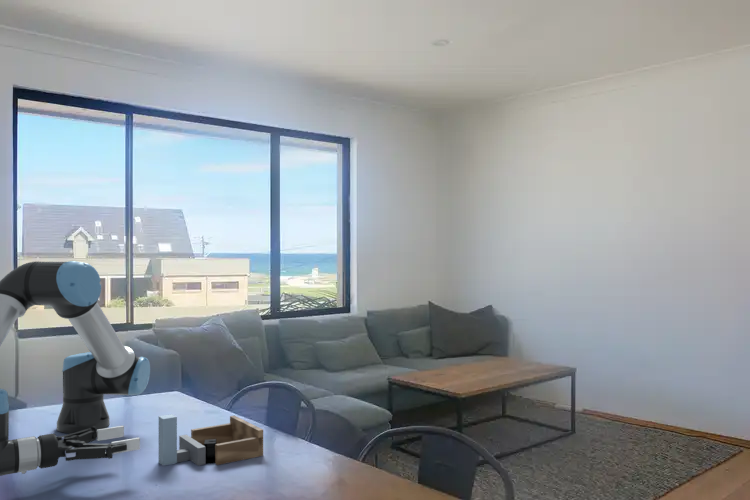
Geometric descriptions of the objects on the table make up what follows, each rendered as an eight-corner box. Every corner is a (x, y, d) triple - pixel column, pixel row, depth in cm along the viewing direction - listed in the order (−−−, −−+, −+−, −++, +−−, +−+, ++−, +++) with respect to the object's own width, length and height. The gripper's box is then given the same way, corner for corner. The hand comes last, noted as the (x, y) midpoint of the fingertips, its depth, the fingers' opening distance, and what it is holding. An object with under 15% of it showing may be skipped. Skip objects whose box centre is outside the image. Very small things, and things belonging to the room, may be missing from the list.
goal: (191, 447, 183) (191, 422, 183) (234, 439, 191) (234, 415, 191) (217, 465, 168) (217, 437, 168) (263, 455, 176) (263, 429, 176)
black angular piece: (223, 467, 168) (223, 448, 168) (192, 469, 167) (192, 449, 167) (225, 451, 181) (225, 433, 181) (196, 452, 180) (196, 435, 180)
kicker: (152, 457, 174) (152, 412, 174) (186, 450, 180) (186, 407, 180) (169, 471, 163) (169, 423, 163) (205, 464, 169) (205, 417, 169)
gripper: (28, 455, 162) (117, 440, 174) (47, 483, 142) (146, 464, 154) (28, 424, 162) (117, 412, 174) (47, 449, 142) (146, 433, 154)
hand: (131, 437), depth 164 cm, fingers open, 13 cm apart
